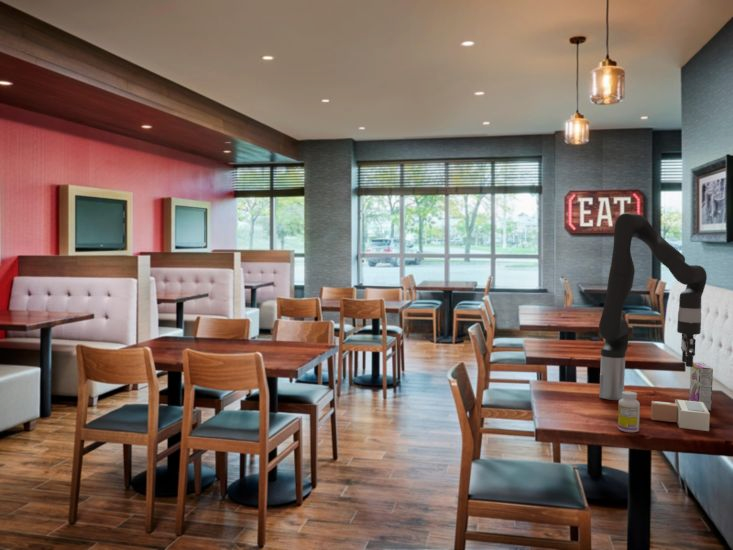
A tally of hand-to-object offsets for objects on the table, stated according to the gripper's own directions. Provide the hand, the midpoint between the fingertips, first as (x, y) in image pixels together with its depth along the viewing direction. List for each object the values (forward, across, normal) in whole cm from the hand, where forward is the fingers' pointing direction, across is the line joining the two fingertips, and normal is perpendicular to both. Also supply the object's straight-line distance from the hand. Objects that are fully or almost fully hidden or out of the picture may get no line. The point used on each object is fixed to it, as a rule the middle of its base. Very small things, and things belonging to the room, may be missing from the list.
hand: (687, 364), depth 221 cm
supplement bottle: (+20, +25, -21) cm, 38 cm away
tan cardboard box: (+20, +7, -8) cm, 22 cm away
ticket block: (+19, +8, +1) cm, 21 cm away
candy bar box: (+20, -18, +8) cm, 28 cm away
